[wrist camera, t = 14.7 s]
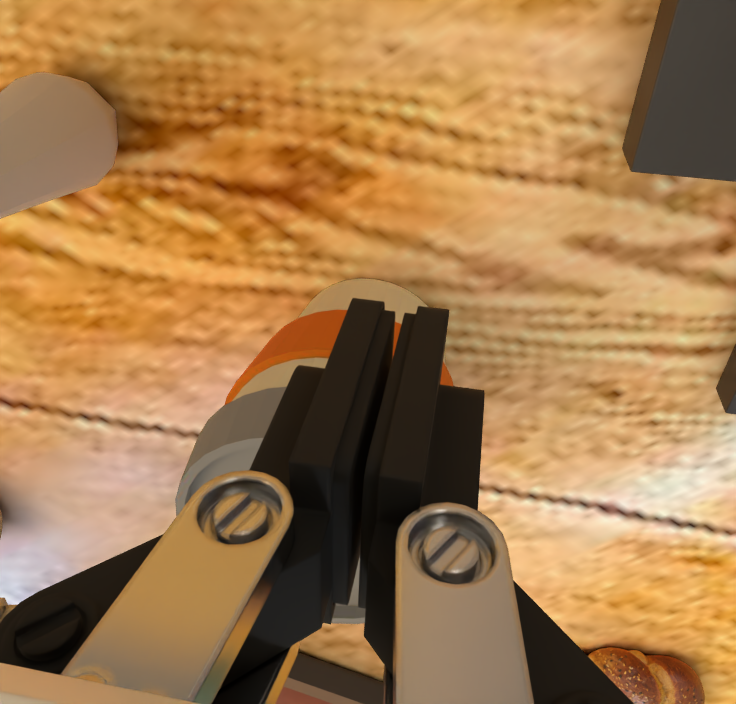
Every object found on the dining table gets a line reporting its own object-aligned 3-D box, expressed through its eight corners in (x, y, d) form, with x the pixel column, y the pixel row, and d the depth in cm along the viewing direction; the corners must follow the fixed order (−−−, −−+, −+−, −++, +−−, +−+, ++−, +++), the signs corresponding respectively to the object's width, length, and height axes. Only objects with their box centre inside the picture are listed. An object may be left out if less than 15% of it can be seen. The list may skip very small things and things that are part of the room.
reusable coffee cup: (238, 276, 39) (114, 453, 27) (441, 225, 35) (402, 408, 23) (317, 432, 45) (245, 631, 33) (497, 405, 41) (489, 622, 29)
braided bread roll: (529, 679, 58) (530, 721, 55) (598, 620, 52) (603, 666, 49) (649, 725, 59) (656, 770, 56) (732, 674, 53) (745, 721, 50)
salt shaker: (66, 36, 32) (-145, 110, 22) (155, 126, 34) (1, 234, 24) (13, 113, 35) (-195, 211, 25) (98, 192, 37) (-62, 314, 27)
